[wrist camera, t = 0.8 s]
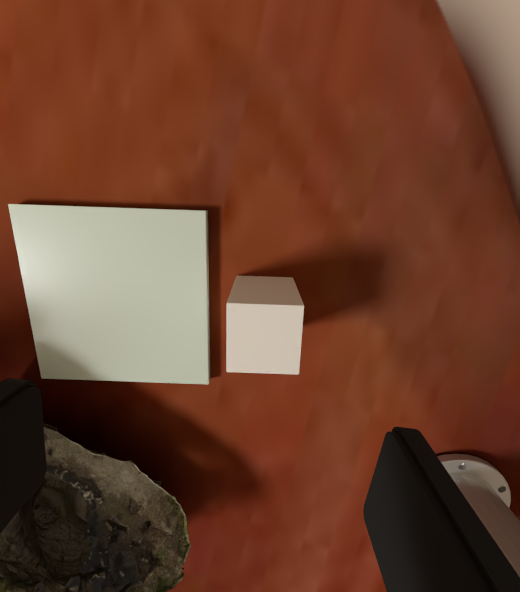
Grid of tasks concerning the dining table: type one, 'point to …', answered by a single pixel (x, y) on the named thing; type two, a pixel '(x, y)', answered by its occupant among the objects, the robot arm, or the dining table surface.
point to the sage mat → (116, 291)
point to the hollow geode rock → (93, 528)
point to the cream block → (264, 325)
